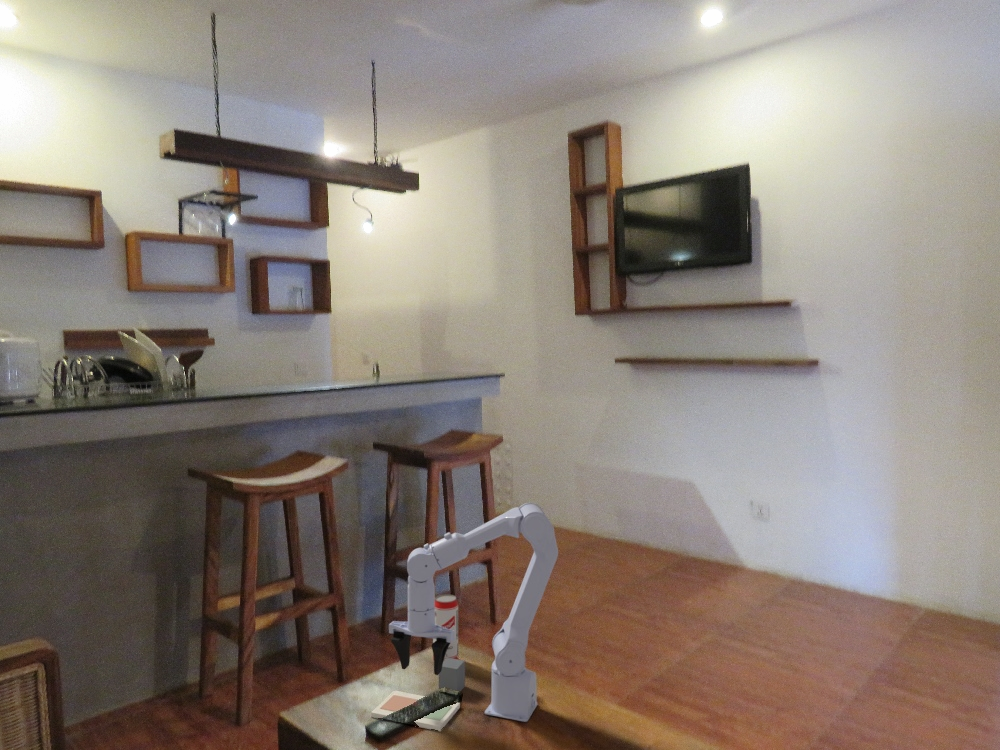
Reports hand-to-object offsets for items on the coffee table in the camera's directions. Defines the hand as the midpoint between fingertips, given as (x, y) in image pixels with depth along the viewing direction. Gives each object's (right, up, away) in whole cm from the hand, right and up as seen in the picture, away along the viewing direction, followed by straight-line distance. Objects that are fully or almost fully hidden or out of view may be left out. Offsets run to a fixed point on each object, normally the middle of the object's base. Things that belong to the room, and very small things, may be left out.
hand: (421, 669), depth 147 cm
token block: (+6, -9, +11) cm, 15 cm away
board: (-1, -9, +1) cm, 9 cm away
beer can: (+3, -9, +25) cm, 26 cm away
